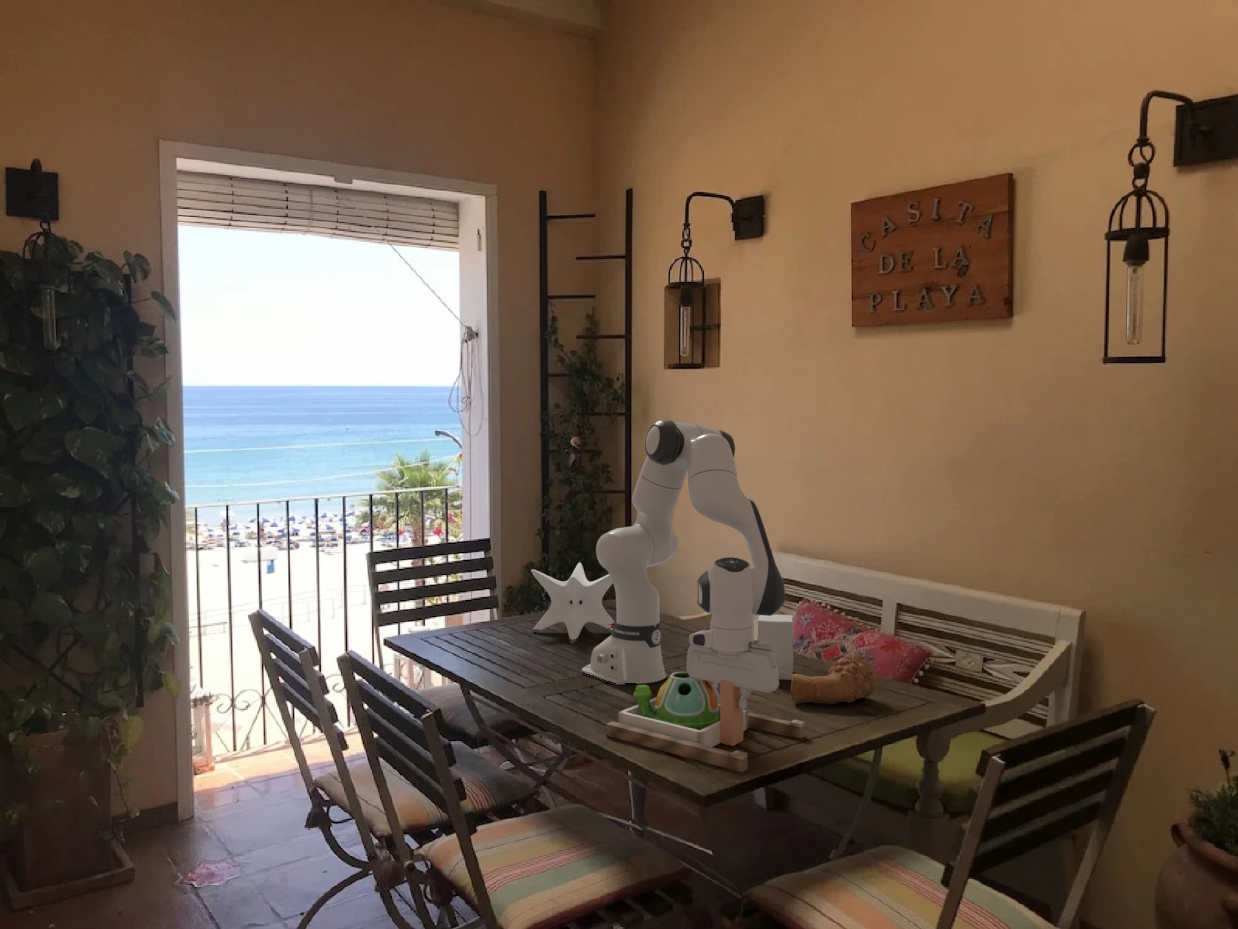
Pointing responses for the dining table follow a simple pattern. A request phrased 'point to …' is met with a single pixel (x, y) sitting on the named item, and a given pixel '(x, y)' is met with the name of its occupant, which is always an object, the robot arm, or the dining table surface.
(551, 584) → the starfish
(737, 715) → the sled
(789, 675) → the supplement box
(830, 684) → the clay pipe
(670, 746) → the bay rails
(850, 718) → the dining table surface
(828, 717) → the dining table surface
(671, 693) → the turtle holder
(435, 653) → the dining table surface
